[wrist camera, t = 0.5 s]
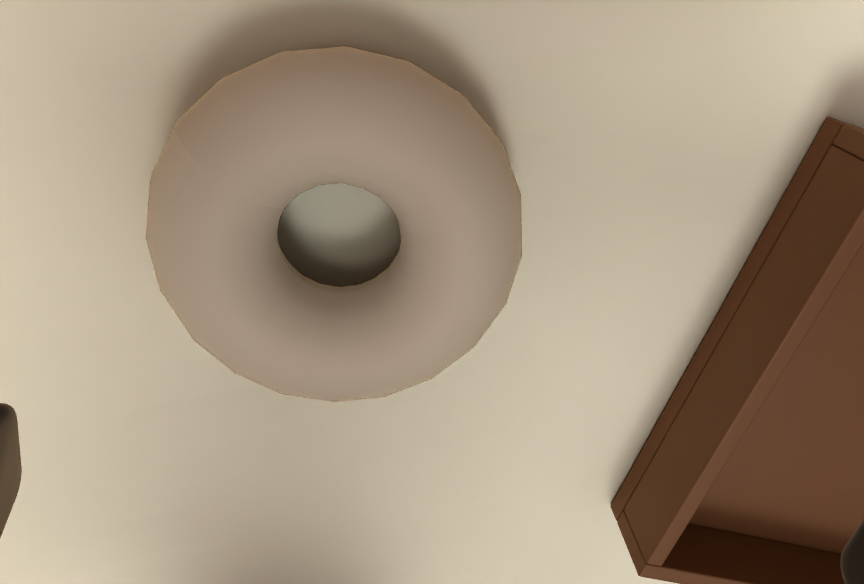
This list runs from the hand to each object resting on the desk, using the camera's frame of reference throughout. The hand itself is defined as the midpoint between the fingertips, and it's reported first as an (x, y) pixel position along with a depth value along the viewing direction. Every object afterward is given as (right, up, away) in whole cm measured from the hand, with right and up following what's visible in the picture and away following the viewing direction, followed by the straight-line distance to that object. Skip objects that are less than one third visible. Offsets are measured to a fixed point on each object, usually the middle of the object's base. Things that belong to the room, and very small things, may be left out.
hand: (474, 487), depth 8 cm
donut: (-3, +4, +14) cm, 15 cm away
